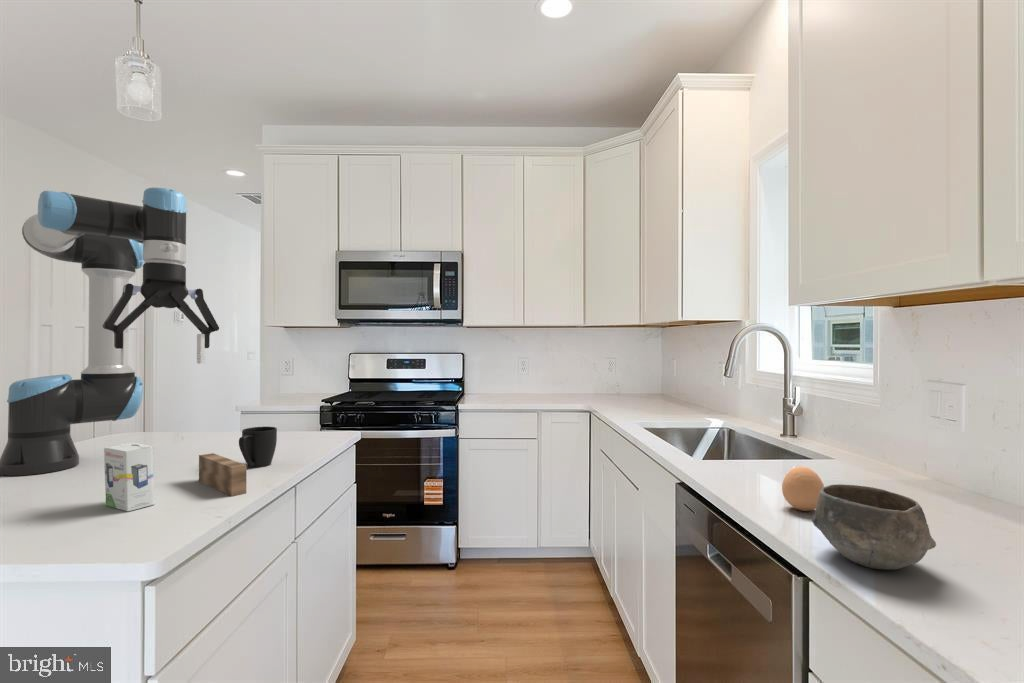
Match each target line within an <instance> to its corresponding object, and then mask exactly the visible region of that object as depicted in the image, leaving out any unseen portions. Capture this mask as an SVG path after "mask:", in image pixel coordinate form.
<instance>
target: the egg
mask: <svg viewBox="0 0 1024 683" xmlns="http://www.w3.org/2000/svg"><path fill="white" fill-rule="evenodd" d="M823 487H825V485H824V483H823V481H822V479H821V477H820V476H819V474H818V473H817V472H815V471H814V470H813V469H811V468H809V467H806V466H801V465H800V466H796V467H793V468H791V469H790V470H788V472H787V473H786V474H785V477H783V480H782V484H781V491H782V496H783V497H784V500H785V501H786V502H787V503H788V504H789V505H790V506H791V507H793V509H795V510H798V511H803V512H809V511H812V510H813V511H814V510H816V505H817V501H818V496H819V494H820V491H821V489H822V488H823Z"/></svg>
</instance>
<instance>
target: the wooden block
mask: <svg viewBox="0 0 1024 683" xmlns="http://www.w3.org/2000/svg"><path fill="white" fill-rule="evenodd" d="M247 467H248V466H247V464H246V463H245V464H244V463H242V462H239V461H236V460H234V459H230V458H228V457H225V456H221V455H219V454H217V453H214V452H212V453H206V454H199V455H198V482H200V483H202V484H204V485H207V486H208V487H211V488H213V489H215V490H217V491H219V492H221V493H223V494H226V495H228V496H230V497H234V496H239V495H240V496H241V495H244V494H247Z"/></svg>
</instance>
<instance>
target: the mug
mask: <svg viewBox="0 0 1024 683" xmlns="http://www.w3.org/2000/svg"><path fill="white" fill-rule="evenodd" d="M277 431H278V428H277V427H275V426H253V427H247V428H244V429H242V431H241V437H239V439H238V447H239V450H240V452H241V455H242V456H243V458H244V461H245V464H246V465H247V467H248V468H251V469H256V468H265V467H266V468H267V467H268V466H269V467H270V466H271V465H272V462H273V459H274V455H275V453H276V452H275V451H276V448H277V440H278V438H277V437H278V436H277V435H278V434H277V433H278V432H277Z"/></svg>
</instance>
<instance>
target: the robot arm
mask: <svg viewBox="0 0 1024 683" xmlns="http://www.w3.org/2000/svg"><path fill="white" fill-rule="evenodd" d="M141 202H142V206H141V205H136V204H131V203H125V202H118V201H112V200H107V199H106V200H105V199H100V198H97V197H96V198H95V197H94V198H93V197H89V196H84V195H79V194H73V193H69V192H65V191H53V190H43V191H41V192H40V194H39V197H38V201H37V213H36V214H33V215H31V216H30V217H28V218H27V219H26V221H24V223H23V225H22V227H21V235H22V238H23V240H24V241H25V243H26V244H27V245H28V246H29V247H30V248H31V249H32V250H34V251H35V252H37V253H40V254H41V255H43V256H45V257H47V258H50V259H54V260H58V261H62V262H68V263H77V264H81V272H82V273H84V275H86V276H87V278H88V345H87V346H88V349H87V350H88V353H87V354H88V356H87V357H88V361H87V362H88V363H87V367H85V368H84V369H83V370H82V371H80V379H72V377H71V375H70V374H66V373H65V374H56V375H53V374H52V375H46V376H45V375H44V376H38V377H30V378H25V379H19V380H15V381H13V382H12V383H11V384H10V385H9V388H8V395H7V396H8V397H7V400H6V403H8V407H7V408H8V410H7V412H8V413H7V442H6V445H5V447H4V449H3V452H2V454H1V455H0V476H10V477H11V476H12V477H14V476H31V475H39V474H46V473H53V472H58V471H59V472H60V471H63V470H68V469H71V468H74V467H77V466H78V465H79V464H80V454H79V453H78V450H77V448H76V444H74V442H73V439H72V435H71V426H72V425H76V424H85V423H86V424H87V423H89V424H90V423H96V422H98V423H99V422H106V421H108V422H109V421H113V422H116V421H119V420H126V419H131V418H133V417H134V416H135V415H136V414H137V413H138V411H139V409H140V407H141V405H142V404H141V403H142V400H143V394H144V387H143V380H142V378H141V377H139V376H136V371H135V370H134V369H133V368H132V367H130V366H129V326H130V325H132V324H133V323H134V322H135V321H136V320H137V319H138V318H139V317H140V316H142V314H144V312H146V311H147V310H148V309H149V308H150V307H151V306H152V307H153V308H155V309H157V308H158V309H159V308H166V309H175V308H177V309H178V311H180V312H181V313H182V314H183V315H184V316H185V317H186V318H187V320H189V321H190V323H192V325H194V327H196V329H197V330H199V332H200V333H196V364H200V365H201V364H202V365H205V362H206V361H205V357H206V355H205V350H206V349H209V348H210V346H211V344H210V340H211V338H210V336H211V334H212V333H214V332H218V331H219V330H220V327H219V324H218V323H217V321H216V319H215V317H214V315H213V314H212V311H211V310H210V307H209V306H208V304H207V302H206V300H205V298H204V291H203V289H202V288H195V289H188V288H187V267H186V266H185V264H186V263H187V254H186V253H187V250H186V249H187V212H188V209H187V199H186V196H185V195H184V194H183V193H182V192H180V191H179V190H175V189H169V188H165V187H148V188H145V190H144V191H143V196H142V200H141ZM141 268H142V284H141V285H134V284H132V283H129V282H130V279H131V278H132V277H134V276H135V275H136V270H138V269H141ZM139 292H140V294H141V295H142V297H143V298H144V300H143V301H142V302H141V303H139V305H138V306H137V307H136V308H134V309H133V310H132V311H131V312H130V313H129V304H130V303H129V302H130V300H131V298H132V297H133V296H135V295H137V294H138V293H139ZM187 296H190V298H191V299H192V300H194V303H195V305H196V307H197V308H198V310H199V312H200V314H201V316H202V317H203V319H204V321H205V322H203V320H202V319H201V318H200V317H199V316H198V315H197V314H196V312H194V310H192V309H191V307H190V306H189V304H188V303H187V302H186V301H185V299H186V298H187ZM205 323H206V324H205Z"/></svg>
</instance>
